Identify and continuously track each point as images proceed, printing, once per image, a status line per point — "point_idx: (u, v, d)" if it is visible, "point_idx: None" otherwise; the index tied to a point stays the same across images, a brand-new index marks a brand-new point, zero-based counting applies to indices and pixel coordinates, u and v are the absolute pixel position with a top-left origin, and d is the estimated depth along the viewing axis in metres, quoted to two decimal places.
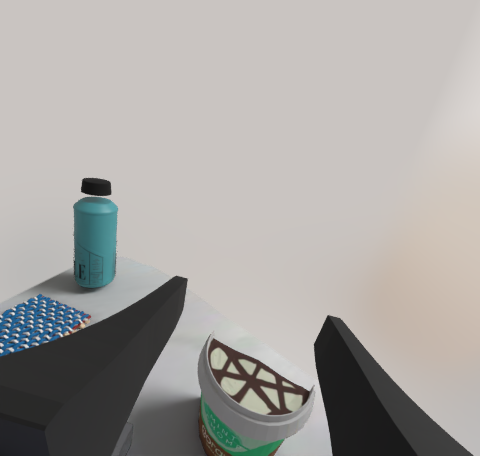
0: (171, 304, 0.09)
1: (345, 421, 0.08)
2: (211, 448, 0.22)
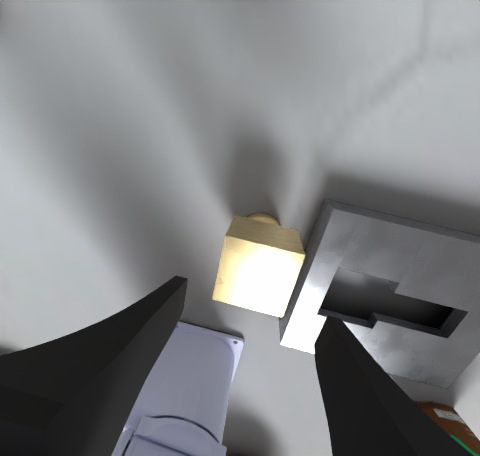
0: (171, 304, 0.09)
1: (345, 421, 0.08)
2: None
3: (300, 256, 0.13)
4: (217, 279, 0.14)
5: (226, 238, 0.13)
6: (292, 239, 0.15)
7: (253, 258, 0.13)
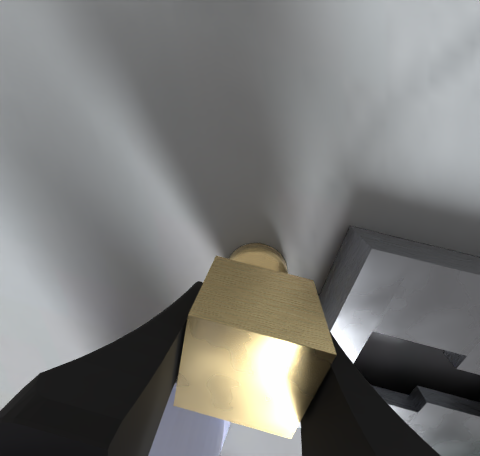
0: None
1: (313, 412, 0.08)
2: None
3: (326, 355, 0.07)
4: (179, 379, 0.08)
5: (190, 319, 0.07)
6: (308, 307, 0.09)
7: (241, 354, 0.07)
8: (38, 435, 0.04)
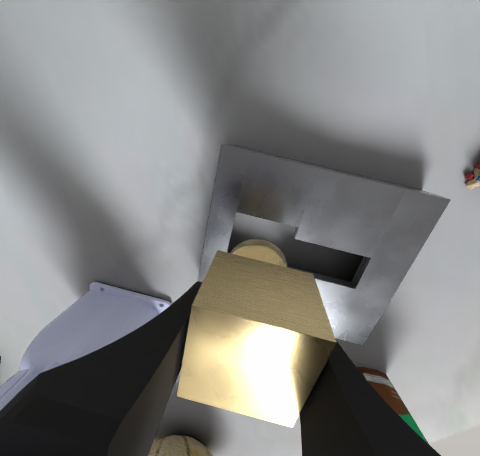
0: None
1: (313, 412, 0.08)
2: None
3: (327, 343, 0.07)
4: (183, 370, 0.08)
5: (194, 310, 0.07)
6: (308, 298, 0.09)
7: (244, 343, 0.08)
8: (37, 436, 0.04)
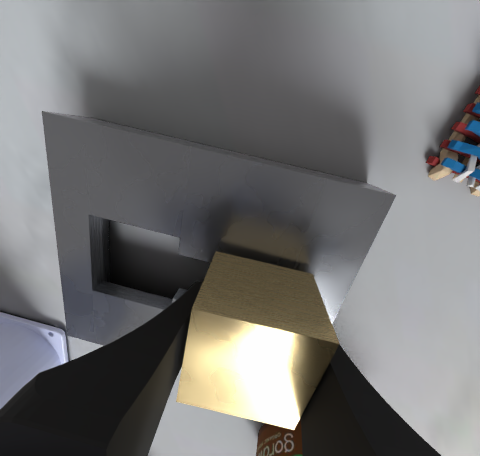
0: None
1: (313, 412, 0.08)
2: (273, 440, 0.19)
3: (330, 344, 0.07)
4: (182, 374, 0.08)
5: (194, 313, 0.07)
6: (309, 299, 0.09)
7: (245, 347, 0.07)
8: (36, 435, 0.04)
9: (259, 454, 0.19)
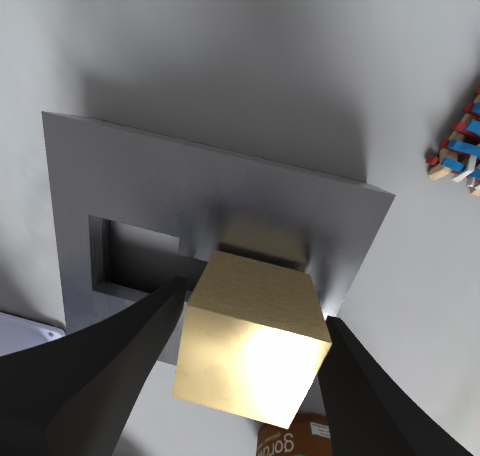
0: (171, 304, 0.09)
1: (345, 421, 0.08)
2: (273, 440, 0.19)
3: (322, 344, 0.07)
4: (178, 370, 0.08)
5: (188, 309, 0.07)
6: (305, 299, 0.09)
7: (238, 344, 0.08)
8: None
9: (259, 454, 0.19)
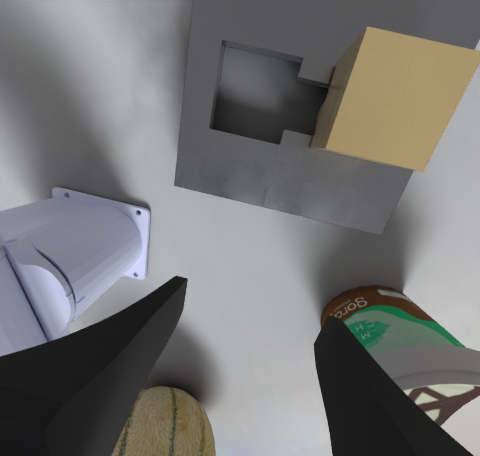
0: (171, 304, 0.09)
1: (345, 421, 0.08)
2: (344, 306, 0.21)
3: (476, 56, 0.09)
4: (339, 111, 0.10)
5: (367, 32, 0.09)
6: None
7: (403, 67, 0.09)
8: None
9: None
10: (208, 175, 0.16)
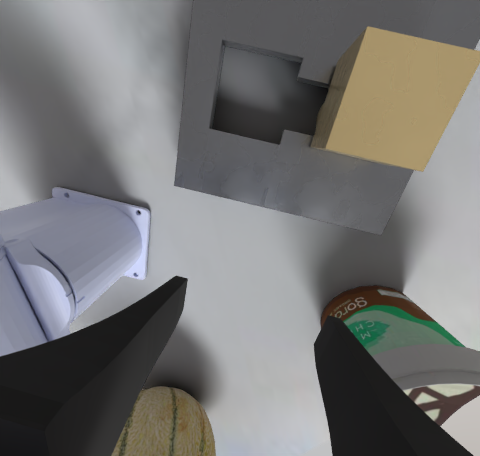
0: (171, 304, 0.09)
1: (345, 421, 0.08)
2: (344, 305, 0.21)
3: (476, 56, 0.09)
4: (339, 111, 0.10)
5: (367, 32, 0.09)
6: None
7: (403, 68, 0.09)
8: None
9: None
10: (208, 175, 0.16)
